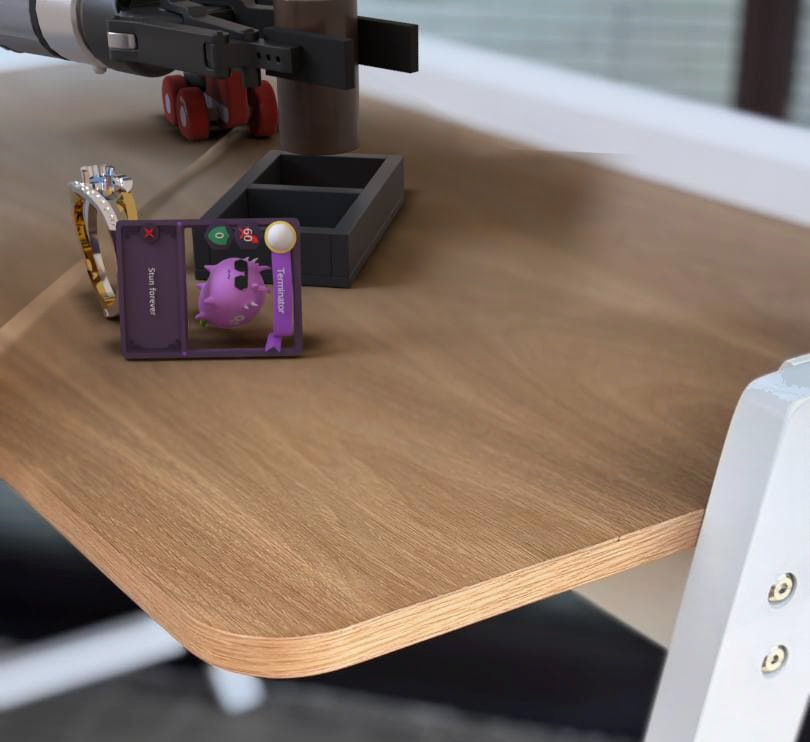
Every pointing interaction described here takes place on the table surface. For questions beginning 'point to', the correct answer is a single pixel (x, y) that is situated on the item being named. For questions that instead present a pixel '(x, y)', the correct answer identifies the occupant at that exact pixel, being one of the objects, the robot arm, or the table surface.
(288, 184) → the grid
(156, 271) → the game card
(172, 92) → the toy fire truck
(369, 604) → the table surface
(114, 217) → the ring
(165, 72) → the robot arm
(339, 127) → the brown wooden cylinder
